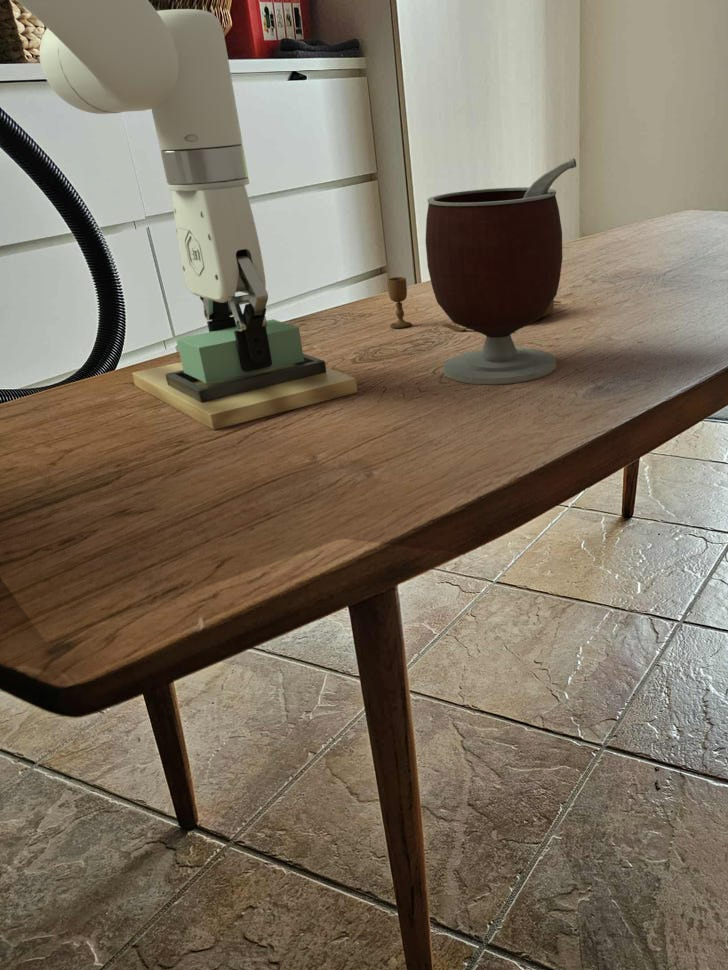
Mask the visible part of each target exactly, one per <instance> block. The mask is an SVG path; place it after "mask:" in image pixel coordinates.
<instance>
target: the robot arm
mask: <svg viewBox="0 0 728 970" xmlns="http://www.w3.org/2000/svg"><path fill="white" fill-rule="evenodd" d="M15 1H16V2H17V3H18V4H20V6H22V7H23V8H25V10H26V11H29V13H30V14H32V15H33V16H34V18H36V19H37V20H38V21H39V22H40V23H42V24H43V25H44V26H45V27H46V29H45V31H44V33H43V34H42V37H41V40H40V44H39V62H40V67H41V70H42V72H43V76H44V77H45V80H46V81H47V83H48V85H49V86H50V88H51V89H52V90H53V91H54V93H55V94H56V95H57V96H58V97H59V98H60V99H62V100H63V101H64V102H66V103H67V104H68V105H70V106H72V107H74V108H75V109H78V110H79V111H82V112H87V113H91V114H96V115H108V114H109V115H110V114H121V113H127V112H143V111H148V110H151V112H152V113H151V114H152V118H153V122H154V129H155V132H156V136H157V141H158V146H159V150H160V155H161V160H162V165H163V169H164V174H165V179H166V184H167V187H168V191H169V192H171V193H172V194H171V195H172V207H173V208H172V209H173V217H174V223H175V224H174V225H175V232H176V237H177V244H178V249H179V255H180V261H181V266H182V272H183V276H184V282H185V286H186V289H188V291H189V292H190V293H192V295H195V296H197V297H199V298H200V300H201V302H202V303H203V314H204V317H205V319H206V324H207V328H208V332H212V331H217V330H222V329H227V328H232V327H237V328H238V330H237V331H234V333H235V338H236V344H237V349H238V354H239V359H240V364H241V369H242V370H243V371H245V372H249V371H253V370H258V369H262V368H266V367H270V366H271V365H272V359H271V353H270V348H269V342H268V336H267V331H266V326H267V317H266V314H267V307H266V306H267V303H268V300H269V294H268V291H267V289H266V288H267V285H266V282H267V281H266V275H265V268H264V267H265V266H264V261H263V256H262V252H261V245H260V240H259V236H258V231H257V227H256V223H255V220H254V214H253V211H252V207H251V203H250V199H249V195H248V192H247V188H246V186H247V185H249V184H250V179H249V173H248V168H247V167H248V166H247V161H246V156H245V149H244V145H243V138H242V133H241V126H240V120H239V115H238V109H237V102H236V97H235V91H234V85H233V80H232V73H231V67H230V62H229V56H228V51H227V44H226V39H225V35H224V29H223V27H222V24H221V22H220V21H219V19H218V17H217V16H216V15H215V14H213V12H210V11H208V10H205V9H204V10H203V9H196V8H176V9H161V10H160V9H159V10H156V9H155V7H154V6H153V4H152V3H151V2H150V1H149V0H15ZM239 292H240V293H243V294H242V295H236V293H239ZM241 305H244V309H243V311H242V307H241Z"/></svg>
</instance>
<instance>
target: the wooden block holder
mask: <svg viewBox="0 0 728 970" xmlns="http://www.w3.org/2000/svg"><path fill="white" fill-rule="evenodd" d="M303 357H304V361H303V362H299V363H294V364H290V365H286V366H281V367H277V368H272V369H268V370H264V371H259V372H255V373H250V374H246V375H242V376H237V377H233V378H229V379H224V380H220V381H215V382H211V383H204V382H202V381H200V380H198V379H196V378H194V377H192V376H190V375H188V374H186V373H184V371H183V367H182V362H181V361H180V362H179V361H178V362H175V363H171V364H166V365H162V366H157V367H153V368H148V369H144V370H143V369H142V370H138V371H134V372H131V374H132V378H133V382H134V386H135V387H136V388H138V389H140V390H142V391H144V392H146V393H147V394H149V395H151V396H152V397H154V398H156V399H158V400H160V401H162V402H164V403H165V404H167V405H168V406H170V407H172V408H174V409H176V410H177V411H180V412H181V413H183V414H185V415H186V416H188V417H190V418H192V419H193V420H195V421H196V422H199V423H201V424H202V425H204V426H206V427H208V428H209V429H211V430H213V431H215V430H219V429H224V428H227V427H231V426H235V425H238V424H242V423H246V422H250V421H254V420H258V419H261V418H266V417H269V416H273V415H277V414H281V413H285V412H288V411H293V410H296V409H300V408H303V407H307V406H311V405H315V404H319V403H322V402H327V401H330V400H335V399H338V398H341V397H347V396H349V395H354V394H357V393H358V385H357V378H356V377H353V376H351V375H349V374H345V373H343V372H339V371H337V370H334V369H332V368H329V367H327V366H326V361H325V360H323V359H320V358H317V357H315V356H312V355H309V354H307V353H303Z"/></svg>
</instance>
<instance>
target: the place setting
mask: <svg viewBox="0 0 728 970" xmlns="http://www.w3.org/2000/svg"><path fill="white" fill-rule="evenodd" d="M386 283H387V292H388V296H389V299H390V300H391V301H392V302H395V307H396V311H395V316H396V317H397V320H396V321H395V322H394V323H391V324H390V328H391V329H406V328H410V327H412V326H413V324H412V322H409V321H406V320H405V319H404V316H405V312H404V309H403V302H404V301H405V300H406V299H407V296H408V285H407V277H404V276H395V277H389V278H387V279H386ZM561 303H562V301H559V300H554V299H553V301H552V302H551V304H550V306H549V307H548V309H547V310H546V312H545V313H544V315H543V316H542V317H543V318H544V317H546V316H548V315H549V314H550V313H552V311H553V309H554V306H555V304H561ZM542 317H541V319H543V318H542ZM441 327H444V328H447V329H449V330H453V331H456V332H463V331H466V330H470V329H469V328H466V327H462V326H456V325H453V324H451V323H447V322H444V323H442V324H441Z"/></svg>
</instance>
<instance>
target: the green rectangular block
mask: <svg viewBox="0 0 728 970" xmlns="http://www.w3.org/2000/svg"><path fill="white" fill-rule="evenodd" d="M266 321H267V326H266V331H267V336H268V342H269V348H270V353H271V359H272V365H271V366H270V367H266V368H262V369H258V370H253V371H249V372H245V371H243V370H242V369H241V364H240V359H239V354H238V349H237V344H236V338H235V333H234V331H237V330H238V328H237V327H232V328H227V329H222V330H217V331H212V332H209V331H207V332H202V333H197V334H192V335H186V336H182V337H177V338H176V339H175V340H176V344H177V349H178V353H179V358H180V362H182V367H183V371H184V373H186V374H188V375H190V376H192V377H194V378H196V379H198V380H200V381H202V382H204V383H211V382H215V381H220V380H224V379H229V378H233V377H237V376H242V375H246V374H250V373H255V372H259V371H264V370H268V369H272V368H277V367H281V366H286V365H290V364H294V363H299V362H303V361H304V357H303V354H304V352H303V351H304V350H303V345H302V339H301V333H300V327H299V326H296V325H292V324H290V323H286V322H283V321H279V320H276V319H272V318H271V319H268V320H267V319H266Z"/></svg>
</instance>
